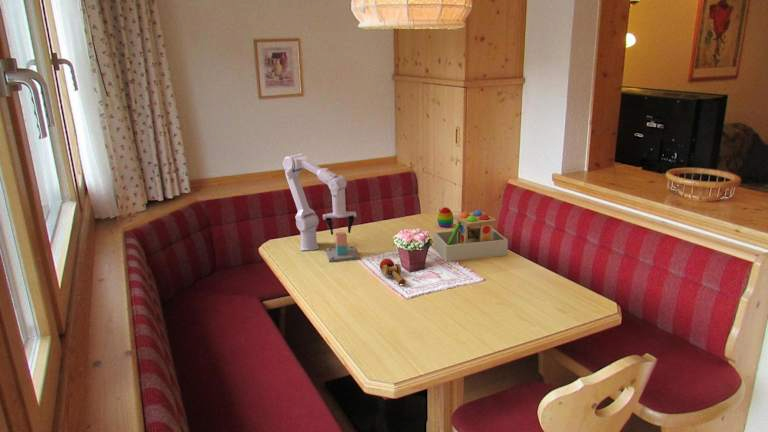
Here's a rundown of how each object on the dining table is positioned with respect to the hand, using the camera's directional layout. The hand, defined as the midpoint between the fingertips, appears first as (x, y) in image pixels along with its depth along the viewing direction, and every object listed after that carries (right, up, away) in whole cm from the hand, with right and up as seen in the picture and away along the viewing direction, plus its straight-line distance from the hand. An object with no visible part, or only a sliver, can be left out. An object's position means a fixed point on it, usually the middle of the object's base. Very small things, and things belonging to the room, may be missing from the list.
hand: (340, 233), depth 243 cm
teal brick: (0, -9, +3) cm, 9 cm away
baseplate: (0, -10, +3) cm, 10 cm away
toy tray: (+58, -8, +3) cm, 58 cm away
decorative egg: (+51, +2, +38) cm, 63 cm away
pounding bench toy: (+56, -9, +2) cm, 57 cm away
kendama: (+23, -17, -22) cm, 37 cm away
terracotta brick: (0, -5, +1) cm, 5 cm away
